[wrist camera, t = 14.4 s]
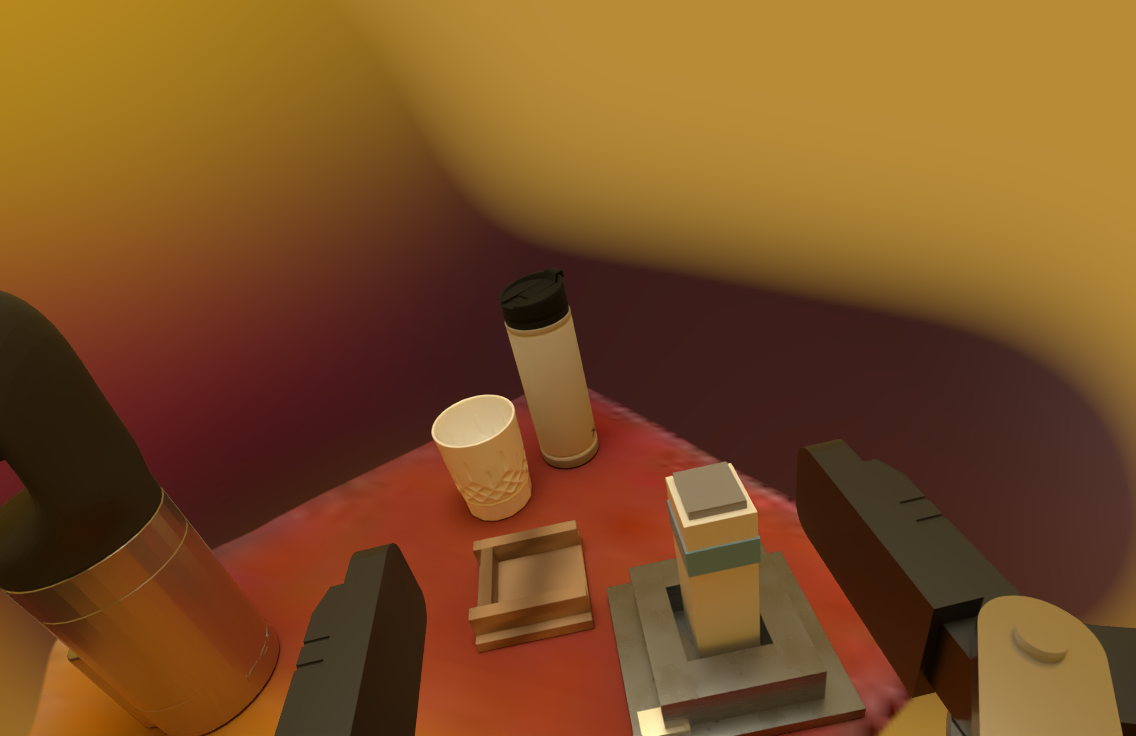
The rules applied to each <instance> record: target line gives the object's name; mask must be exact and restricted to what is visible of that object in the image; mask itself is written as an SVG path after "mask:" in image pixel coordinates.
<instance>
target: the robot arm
mask: <svg viewBox="0 0 1136 736" xmlns="http://www.w3.org/2000/svg"><path fill="white" fill-rule="evenodd" d="M3 460H6V462H7V463H8V464H9V466H10V467H11V468H12V469H13V470H14V472H15V473H16V474H17V476H18V477H19V478H20V480H21V481H22V483H23V484H24V485H25V488H24V489H23V490H21V491H20V492H19V493H17V494H16V495H15V496H13V497H12V498H11V499H9V500H8V501H7V502H6V503H5V504H4V505H2V506H1V507H0V588H1V589H2V590H3V591H4V592H5V593H6V594H7V595H9V596H10V597H11V598H12V599H13V600H14V601H15V602H17V603H18V604H19V605H20V606H21V607H22V608H23V609H24V610H25V611H27V612H28V613H29V614H30V615H31V616H32V617H34V618H35V619H36V620H37V621H38V622H40V623H41V624H42V625H43V626H44V627H45V628H47V630H49V631H50V632H51V633H52V634H53V635H54V636H55V637H57V638H58V639H59V640H60V641H61V642H62V643H63V644H64V645H66V646H67V647H68V648H69V651H68V654H67V657H68V660H69V661H70V662H71V663H72V664H73V665H74V666H75V667H76V668H78V669H79V670H80V671H81V672H82V673H83V674H85V675H86V676H87V677H88V678H89V679H90V680H91V681H93V682H94V683H95V684H96V685H97V686H98V687H100V688H101V689H102V690H103V691H104V692H105V693H107V694H108V695H109V696H110V697H111V698H112V699H113V700H115V701H116V702H117V703H118V704H119V705H120V706H122V707H123V708H124V709H125V710H126V711H127V712H129V713H130V714H131V715H132V716H133V717H134V718H135V719H137V720H138V721H139V722H140V723H141V724H142V725H144V726H145V727H146V728H150V727H158V728H159V729H161V730H162V731H163V732H164V733H165V734H166V735H168V736H200V735H203V734H205V733H208V732H210V731H213V730H214V729H216V728H218V727H220V726H221V725H223V724H225V723H227V722H228V721H229V720H231V719H232V718H233V717H235V716H236V715H237V714H239V713H240V712H241V711H242V710H243V709H244V708H245V707H246V706H247V705H248V704H249V703H250V702H251V701H252V700H253V699H254V698H255V697H256V696H257V694H258V693H259V692H260V691H261V690H262V688H263V687H264V685H265V684H266V682H267V681H268V679H269V677H270V676H271V673H272V671H273V669H274V667H275V665H276V661H277V658H278V654H279V642H278V638H277V635H276V634H275V632H274V631H273V630H272V628H271V627H270V626H269V624H268V623H267V622H266V621H265V619H264V618H263V617H262V615H261V614H260V613H259V611H258V610H257V609H256V608H255V606H254V605H253V603H252V602H251V601H250V600H249V598H248V597H247V596H246V594H245V593H244V592H243V591H242V589H241V588H240V587H239V585H238V584H237V583H236V582H235V580H234V579H233V578H232V577H231V575H230V574H229V573H228V571H227V570H226V569H225V568H224V566H223V565H222V564H221V562H220V561H219V560H218V559H217V557H216V556H215V555H214V554H213V552H212V551H211V550H210V548H209V547H208V546H207V545H206V543H205V542H204V541H203V539H202V538H201V537H200V536H199V534H198V533H197V532H196V531H195V529H194V528H193V527H192V525H191V524H190V523H189V522H188V520H187V519H186V518H185V517H184V515H183V514H182V513H181V512H180V510H179V509H178V508H177V507H176V505H175V504H174V503H173V501H172V500H171V499H170V498H169V496H168V495H167V494H166V492H165V491H164V490H163V489H162V488H161V486H160V485H159V484H158V482H157V481H156V480H155V478H154V477H153V476H152V474H151V473H150V471H149V469H148V467H147V465H146V463H145V461H144V458H143V456H142V454H141V452H140V450H139V447H138V445H137V443H136V441H135V440H134V438H133V437H132V435H131V434H130V432H129V431H128V429H127V428H126V426H125V425H124V424H123V422H122V421H121V419H120V418H119V417H118V415H117V414H116V412H115V411H114V409H113V408H112V406H111V405H110V404H109V403H108V401H107V399H106V398H105V396H104V395H103V393H102V392H101V390H100V389H99V387H98V386H97V384H96V383H95V381H94V380H93V378H92V376H91V375H90V373H89V372H88V370H87V369H86V367H85V366H84V364H83V363H82V361H81V360H80V358H79V357H78V355H77V354H76V353H75V351H74V350H73V348H72V347H71V345H70V344H69V343H68V341H67V340H66V339H65V338H64V337H63V335H62V334H61V333H60V332H59V331H58V329H57V328H56V327H55V326H54V325H53V324H52V323H51V322H50V321H49V320H48V319H47V318H46V317H45V316H44V315H42V314H41V313H40V312H39V311H38V310H37V309H35V308H34V307H32V306H31V305H30V304H28V303H27V302H25V301H24V300H22V299H20V298H18V297H16V296H14V295H12V294H9V293H7V292H3V291H0V461H3ZM796 491H797V492H796V507H797V513H798V516H799V520H800V522H801V525H802V527H803V529H804V531H805V533H806V535H807V537H808V538H809V540H810V541H811V543H812V544H813V546H814V547H815V549H816V550H817V552H818V554H819V555H820V557H821V558H822V560H823V561H824V563H825V564H826V566H827V567H828V569H829V570H830V572H831V573H832V575H833V577H834V578H835V580H836V581H837V583H838V584H839V586H840V587H841V589H842V590H843V592H844V593H845V595H846V597H847V598H848V600H849V601H850V603H851V604H852V606H853V607H854V609H855V610H856V612H857V613H858V615H859V617H860V618H861V620H862V621H863V623H864V624H865V626H866V627H867V629H868V630H869V632H870V633H871V635H872V637H873V638H874V640H875V641H876V643H877V644H878V646H879V647H880V649H881V650H882V652H883V653H884V655H885V657H886V658H887V660H888V661H889V663H890V664H891V666H892V667H893V669H894V670H895V672H896V673H897V675H898V676H899V678H900V680H901V681H902V683H903V684H904V686H905V687H906V689H907V690H908V692H909V693H910V695H911V696H912V698H914V697H918V696H922V695H926V694H930V693H935V692H936V693H937V695H938V696H939V698H940V699H941V701H942V702H943V703H944V705H945V706H946V708H947V709H948V713H947V722H946V725H947V727H946V736H1136V628H1124V627H1110V626H1098V625H1090V624H1084V623H1081V622H1080V621H1079V620H1078V619H1076V618H1075V617H1073V616H1072V615H1071V614H1069V613H1067V612H1066V611H1064V610H1062V609H1060V608H1058V607H1056V606H1054V605H1052V604H1049V603H1047V602H1044V601H1041V600H1038V599H1035V598H1030V597H1024V596H1023V595H1022V594H1020V593H1019V592H1018V591H1017V590H1016V589H1015V588H1014V587H1013V586H1012V585H1011V584H1010V583H1009V582H1008V581H1007V580H1006V579H1005V578H1004V577H1003V576H1002V575H1001V574H1000V573H999V572H998V571H997V570H996V569H995V568H994V567H993V566H992V565H991V564H990V563H989V562H988V561H987V560H986V559H985V558H984V556H982V554H981V553H980V552H979V551H978V550H977V549H976V548H975V547H974V546H973V545H972V544H971V543H970V542H969V541H968V540H967V539H966V538H965V537H964V536H963V535H962V534H961V533H960V532H959V531H958V530H957V529H956V528H955V527H954V525H952V523H951V522H950V521H949V520H948V519H947V518H945V519H944V518H943V516H942V513H941V512H940V511H939V510H938V509H937V508H936V507H935V506H934V505H933V504H932V503H931V502H930V501H929V500H928V501H927V500H926V499H925V496H924V495H923V494H922V493H921V491H920V490H918V488H917V487H916V486H915V485H914V484H913V483H912V482H911V481H910V480H909V479H908V478H907V477H906V476H905V475H904V474H902V473H900V472H898V471H896V470H895V469H893V468H891V467H889V466H888V465H886V464H884V463H882V462H880V461H879V460H877V459H874V460H870V461H866V462H863V461H862V460H861V459H860V458H859V457H858V456H857V455H856V454H855V453H854V451H853V450H852V449H851V448H850V447H849V446H848V445H847V444H846V443H845V442H844V441H842V440H840V439H837V440H833V441H828V442H824V443H820V444H816V445H812V446H808V447H803V448H800V449H799V451H798V456H797V488H796ZM426 624H427V613H426V605H425V600H424V596H423V593H422V591H421V589H420V587H419V585H418V583H417V581H416V579H415V577H414V575H413V573H412V571H411V569H410V568H409V566H408V564H407V562H406V560H405V558H404V556H403V554H402V552H401V550H400V549H399V547H398V546H397V545H396V544H394V543H392V544H388V545H383V546H379V547H375V548H371V549H366V550H362V551H358V552H355V553H354V554H353V555H352V557H351V559H350V563H349V566H348V570H347V574H346V578H345V581H344V584H340V585H336V586H332V587H330V588H329V590H328V591H327V593H326V594H325V596H324V597H323V598H322V600H321V601H320V603H319V604H318V606H317V607H316V609H315V610H314V612H313V613H312V616H311V619H310V622H309V626H308V629H307V632H306V635H305V638H304V647H302V648H301V651H300V655H299V658H298V661H297V664H296V666H297V671H295V672H294V674H293V677H292V680H291V684H290V687H289V690H288V693H287V697H286V700H285V703H284V706H283V710H282V713H281V716H280V719H279V722H278V726H277V729H276V732H275V735H274V736H415V728H416V719H417V709H418V700H419V690H420V681H421V672H422V662H423V653H424V643H425V634H426Z"/></svg>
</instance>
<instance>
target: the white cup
mask: <svg viewBox="0 0 1136 736" xmlns="http://www.w3.org/2000/svg"><path fill="white" fill-rule="evenodd" d="M432 436H433V439H434V441H435V443H436V445H437V447H438V449H439V451H440V453H441V455H442V457H443V460H444V462H445V464H446V466H447V468H448V471H449V473H450V474H451V476H452V478H453V480H454V482H455V484H456V486H457V488H458V490H459V492H460V493H461V494H462V496H463V498H464V499H465V501H466V504H467V506H468V508H469V510H470V512H471V514H472V515H473V516H475V517H477V518H479V519H481V520H487V521H498V520H501V519H504V518H507V517H510V516H513V515H514V514H515V513H517V512H518V511H519V510H521V509H522V508H523V507H525V505H526V503H527V502H528V500H529V499H530V497H531V492H532V483H531V479H530V476H529V472H528V464H527V459H526V456H525V450H524V445H523V441H522V437H521V433H520V429H519V425H518V421H517V417H516V413H515V409H514V406H513V404H512V403H511V402H510V401H509V400H508V399H506V398H504V397H501V396H497V395H481V396H475V397H471V398H468V399H465V400H462V401H460V402H458V403H456V404H454V405H452V406H451V407H449V408H448V409H446V410H445V411H444V412H443V413H442V414H440V416H439V417H438V418H437V419H436V420H435V422H434V424H433V427H432Z"/></svg>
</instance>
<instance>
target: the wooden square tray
mask: <svg viewBox="0 0 1136 736" xmlns="http://www.w3.org/2000/svg"><path fill="white" fill-rule="evenodd" d="M473 552H474V554H475V556H476V559H477V561H478V564H479V566H480V569H479V588H478V607H475V608H470V609H469V622H470V624H471V626H472V629H473V631H474V633H475V635H476V647H477V649H478V651H479V652H483V651H488V650H492V649H497V648H502V647H507V646H511V645H516V644H521V643H526V642H530V641H535V640H540V639H545V638H549V637H554V636H559V635H564V634H568V633H573V632H578V631H583V630H587V629H592V628H594V622H593V616H592V609H591V602H590V596H589V589H588V582H587V576H586V569H585V562H584V556H583V549H582V543H581V537H580V533H579V530H578V528H577V524H576V520H573V521H568V522H564V523H559V524H554V525H550V526H545V527H540V528H536V529H531V530H526V531H522V532H517V533H512V534H508V535H503V536H498V537H494V538H489V539H484V540H480V541H475V542H474V546H473Z"/></svg>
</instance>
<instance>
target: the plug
mask: <svg viewBox="0 0 1136 736" xmlns="http://www.w3.org/2000/svg"><path fill="white" fill-rule="evenodd" d="M665 478H666V485H667V493H668V500H667V506H668V513H669V520H670V525H671V528H672V531H673V536H674V543H675V551H676V558H677V565H678V572H679V580H680V587H681V594H682V601H683V609H684V616H685V621H686V624H687V627H688V630H689V634H690V637H691V640H692V643H693V647H694V650H695V653H696V656H697V659H702V658H707V657H712V656H716V655H721V654H726V653H731V652H736V651H740V650H745V649H750V648H755V647H759V646H760V610H759V567H758V563H760V562H761V548H760V537H759V535H758V524H757V511H756V509H755V507H754V505H753V503H752V501H751V499H750V498H749V496H748V494H747V492H746V490H745V488H744V486H743V485H742V483H741V481H740V479H739V477H738V475H737V473H736V472H735V470H734V468H733V466H732V464H731V463H730V464H727V462H722V463H717V464H712V465H708V466H703V467H698V468H694V469H689V470H685V471H680V472H675V473H673V476H670V477H665Z"/></svg>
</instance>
